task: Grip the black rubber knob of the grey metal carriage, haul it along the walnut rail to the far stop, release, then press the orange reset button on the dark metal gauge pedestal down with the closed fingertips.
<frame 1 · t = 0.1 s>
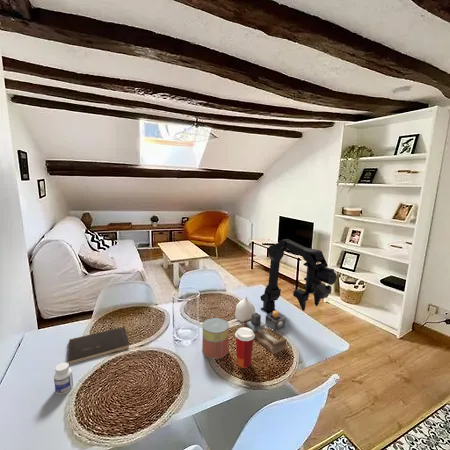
hand: (309, 308, 121), 15 cm above the table, fingers open, 9 cm apart
gauge pedestal: (274, 326, 131), on the table
canned food: (215, 350, 112), on the table
hardcover book: (99, 346, 113), on the table
teardrop: (245, 317, 139), on the table
carriage: (255, 321, 125), point 5 cm above the table, slide at 0.0 cm
paper cup: (243, 363, 104), on the table
pill bottle: (64, 389, 89), on the table
reset button: (275, 315, 130), point 6 cm above the table, slide at 0.0 cm
rail: (263, 338, 121), on the table
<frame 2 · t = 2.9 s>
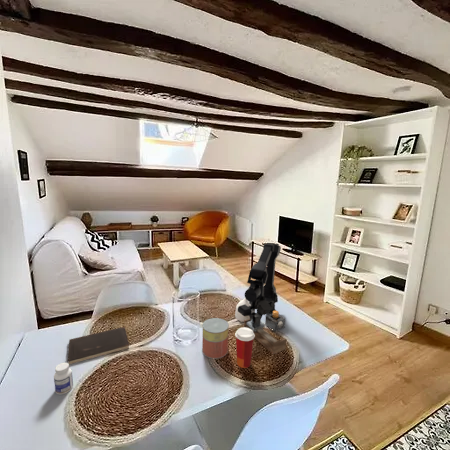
hand: (255, 322, 125), 5 cm above the table, fingers closed on carriage, 3 cm apart
carriage: (255, 321, 125), point 5 cm above the table, slide at 0.0 cm, touching gripper
everything else where it was.
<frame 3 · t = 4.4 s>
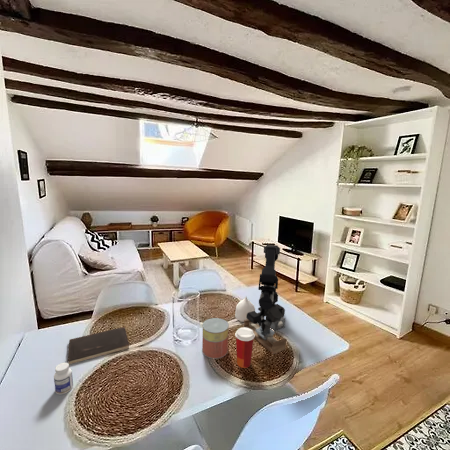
hand: (265, 330, 119), 5 cm above the table, fingers closed on carriage, 3 cm apart
carriage: (265, 328, 119), point 5 cm above the table, slide at 7.0 cm, touching gripper
everything else where it was.
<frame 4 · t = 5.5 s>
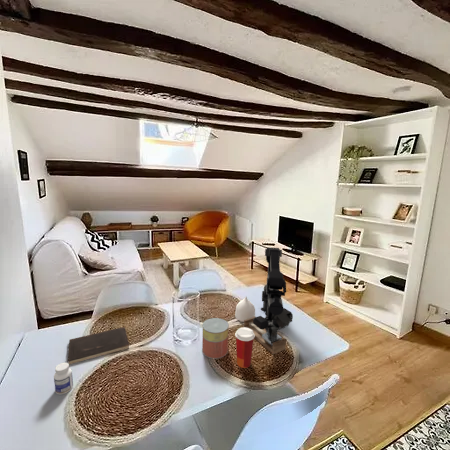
hand: (272, 335, 115), 5 cm above the table, fingers closed on carriage, 3 cm apart
carriage: (272, 334, 115), point 5 cm above the table, slide at 11.7 cm, touching gripper
everything else where it was.
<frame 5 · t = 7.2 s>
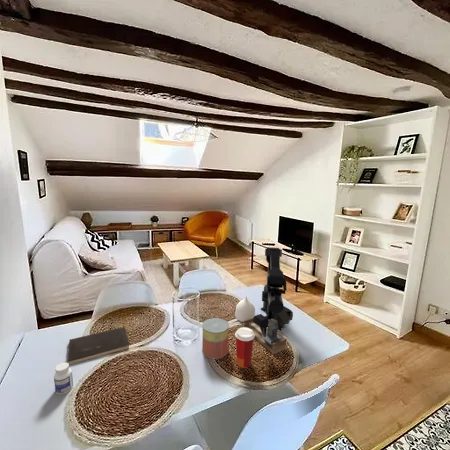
hand: (272, 333, 115), 6 cm above the table, fingers open, 9 cm apart
carriage: (272, 334, 115), point 5 cm above the table, slide at 11.8 cm
everything else where it was.
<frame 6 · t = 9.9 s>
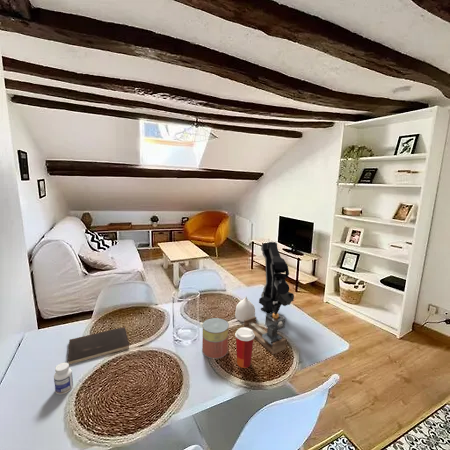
hand: (275, 314, 130), 7 cm above the table, fingers closed, pressing on reset button
reset button: (275, 318, 130), point 4 cm above the table, slide at 1.2 cm, touching gripper
everything else where it was.
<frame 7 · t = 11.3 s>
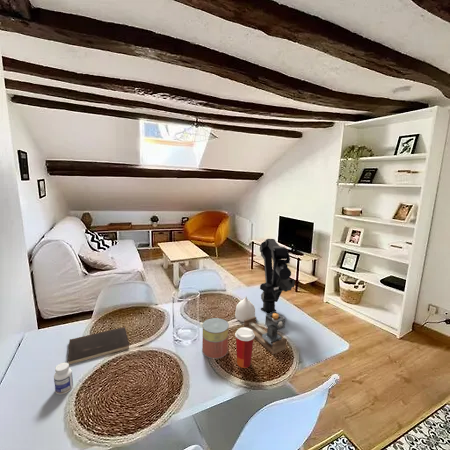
hand: (276, 300, 131), 13 cm above the table, fingers closed
reset button: (275, 318, 130), point 4 cm above the table, slide at 1.5 cm
everything else where it was.
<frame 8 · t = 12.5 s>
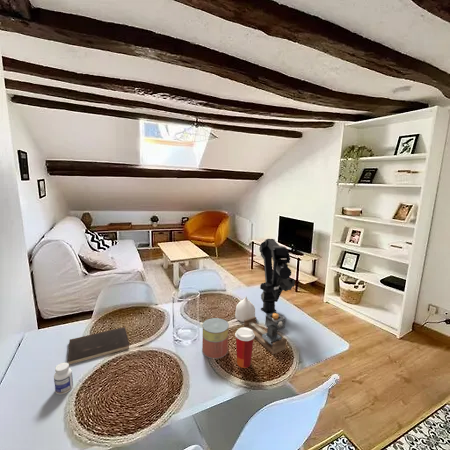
hand: (276, 300, 131), 13 cm above the table, fingers closed
nothing on the table moved.
at the end: carriage slide at 11.8 cm; reset button slide at 1.5 cm; the gripper is holding nothing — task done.
